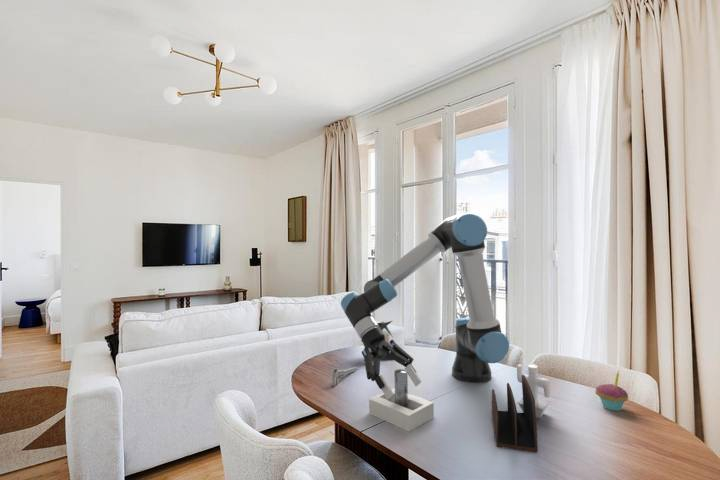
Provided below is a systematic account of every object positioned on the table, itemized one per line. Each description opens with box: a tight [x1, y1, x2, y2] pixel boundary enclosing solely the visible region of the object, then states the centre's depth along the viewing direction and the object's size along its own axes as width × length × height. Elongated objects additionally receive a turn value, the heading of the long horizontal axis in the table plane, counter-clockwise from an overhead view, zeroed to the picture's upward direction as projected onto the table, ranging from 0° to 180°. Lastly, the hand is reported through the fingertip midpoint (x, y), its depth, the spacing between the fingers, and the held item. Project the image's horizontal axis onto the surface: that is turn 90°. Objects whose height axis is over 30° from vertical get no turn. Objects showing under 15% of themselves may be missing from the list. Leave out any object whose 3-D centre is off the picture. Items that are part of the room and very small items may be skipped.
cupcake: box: [594, 370, 629, 412], centre depth 115 cm, size 9×8×12 cm
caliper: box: [331, 366, 358, 387], centre depth 144 cm, size 21×1×6 cm, turn 156°
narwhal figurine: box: [363, 320, 394, 362], centre depth 167 cm, size 14×15×18 cm
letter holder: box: [491, 375, 539, 453], centre depth 102 cm, size 10×20×14 cm, turn 163°
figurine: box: [516, 363, 551, 420], centre depth 111 cm, size 7×9×15 cm
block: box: [368, 387, 435, 432], centre depth 111 cm, size 16×12×4 cm
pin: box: [393, 368, 409, 408], centre depth 111 cm, size 4×4×12 cm
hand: (405, 390), depth 110 cm, fingers open, 13 cm apart
